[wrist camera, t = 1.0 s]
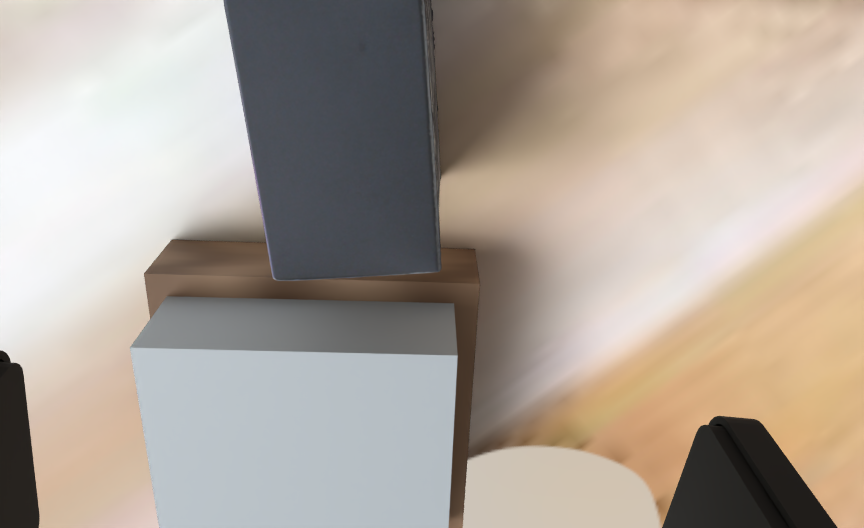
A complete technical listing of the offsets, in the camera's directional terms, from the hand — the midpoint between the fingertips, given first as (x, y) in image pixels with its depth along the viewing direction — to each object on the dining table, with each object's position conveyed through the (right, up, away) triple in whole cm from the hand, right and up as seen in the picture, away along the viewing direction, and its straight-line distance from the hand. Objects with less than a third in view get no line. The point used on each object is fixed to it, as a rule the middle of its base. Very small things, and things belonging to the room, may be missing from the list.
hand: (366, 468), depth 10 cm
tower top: (-5, -5, +26) cm, 26 cm away
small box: (-2, +12, +23) cm, 26 cm away
